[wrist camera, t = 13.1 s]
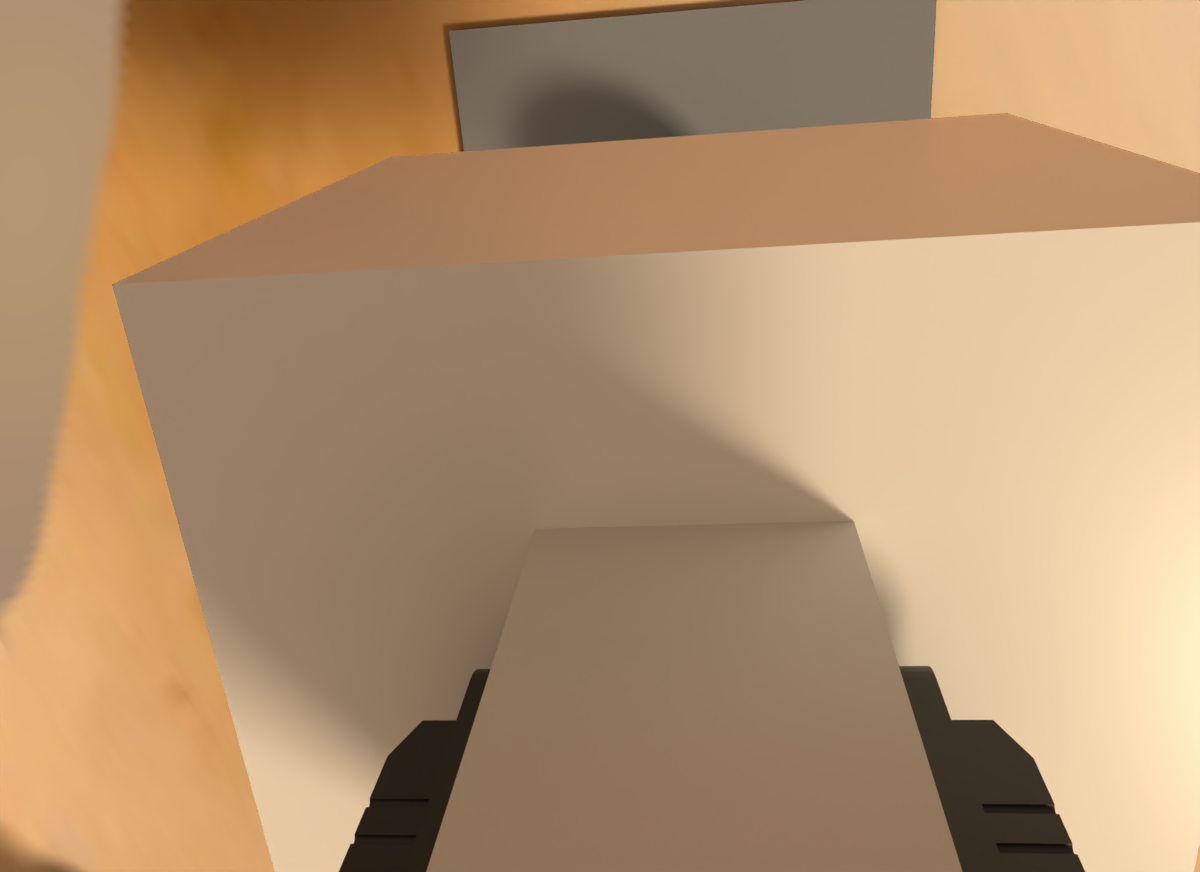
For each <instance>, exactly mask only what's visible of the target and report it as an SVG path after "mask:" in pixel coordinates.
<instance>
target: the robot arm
mask: <svg viewBox="0 0 1200 872" xmlns="http://www.w3.org/2000/svg"><path fill="white" fill-rule="evenodd" d="M899 668H900V672H901V675H902V678H903V681H904V684H905V688H906V691H907V694H908V697H909V701H910V704H911V707H912V710H913V714H914V717H915V720H916V723H917V726H918V730H919V733H920V736H921V739H922V743H923V746H924V749H925V752H926V756H927V759H928V762H929V765H930V768H931V772H932V775H933V778H934V781H935V785H936V788H937V791H938V794H939V798H940V801H941V804H942V807H943V810H944V814H945V817H946V820H947V823H948V827H949V830H950V833H951V836H952V840H953V843H954V846H955V849H956V852H957V856H958V859H959V862H960V865H961V869H962V872H1085V870H1084V868H1083V866H1082V863H1081V861H1080V859H1079V857H1078V855H1077V854H1074V852H1073V844H1072V841H1071V839H1070V837H1069V835H1068V833H1067V830H1066V828H1065V826H1064V824H1063V822H1062V819H1061V817H1060V815H1059V814H1056V812H1055V804H1054V802H1053V800H1052V797H1051V795H1050V793H1049V791H1048V789H1047V786H1046V784H1045V782H1044V780H1043V778H1042V775H1041V773H1040V771H1039V769H1038V767H1037V764H1036V762H1035V760H1034V758H1033V757H1032V756H1031V755H1030V754H1029V753H1028V752H1026V751H1025V750H1024V749H1023V748H1022V747H1021V746H1020V745H1019V744H1018V743H1017V742H1016V741H1015V740H1014V739H1013V738H1012V737H1011V736H1010V735H1009V734H1007V733H1006V732H1005V731H1004V730H1003V729H1002V728H1001V727H1000V726H999V725H998V724H997V723H996V722H995V721H994V720H951V718H950V715H949V712H948V709H947V707H946V704H945V701H944V698H943V696H942V693H941V690H940V687H939V685H938V682H937V679H936V676H935V674H934V672H933V670H932V668H931V667H930V666H899ZM489 673H490V669H476V670H475V671H474V673H473V674H472V676H471V679H470V682H469V685H468V687H467V690H466V693H465V696H464V699H463V702H462V705H461V708H460V711H459V714H458V716H457V719H456V720H423V721H422V722H421V723H420V724H419V725H418V726H417V727H416V728H415V729H414V730H413V731H412V732H411V733H410V734H409V735H408V736H407V737H406V738H405V739H404V740H403V741H402V742H401V743H400V744H399V745H398V746H397V747H396V748H395V749H394V750H393V751H392V752H391V753H390V754H389V755H388V756H387V758H386V761H385V763H384V766H383V768H382V770H381V773H380V775H379V777H378V780H377V782H376V785H375V787H374V789H373V792H372V794H371V796H370V805H369V807H366V808H365V811H364V813H363V815H362V818H361V820H360V822H359V825H358V827H357V830H356V832H355V834H354V835H355V840H354V844H350V846H349V849H348V851H347V853H346V856H345V858H344V860H343V863H342V865H341V868H340V870H339V872H426V871H427V868H428V865H429V861H430V858H431V855H432V852H433V849H434V846H435V843H436V839H437V836H438V833H439V830H440V827H441V824H442V821H443V817H444V814H445V811H446V808H447V805H448V802H449V799H450V795H451V792H452V789H453V786H454V783H455V780H456V776H457V773H458V770H459V767H460V764H461V761H462V758H463V754H464V751H465V748H466V745H467V742H468V739H469V736H470V732H471V729H472V726H473V723H474V720H475V717H476V714H477V710H478V707H479V704H480V701H481V698H482V695H483V691H484V688H485V685H486V682H487V679H488V676H489Z"/></svg>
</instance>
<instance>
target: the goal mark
mask: <svg viewBox="0 0 1200 872" xmlns="http://www.w3.org/2000/svg"><path fill="white" fill-rule="evenodd" d="M935 19H936V0H803V1H792V2H780V3H768V4H757V5H745V6H733V7H721V8H710V9H698V10H686V11H675V12H663V13H651V14H640V15H628V16H616V17H604V18H593V19H581V20H569V21H558V22H546V23H534V24H523V25H511V26H499V27H488V28H476V29H464V30H452V31H449V37H450V45H451V52H452V60H453V68H454V76H455V84H456V92H457V100H458V108H459V116H460V123H461V131H462V139H463V147H464V152H465V151H479V150H493V149H507V148H521V147H535V146H550V145H564V144H578V143H592V142H606V141H620V140H634V139H648V138H662V137H677V136H691V135H705V134H719V133H733V132H747V131H761V130H775V129H790V128H804V127H818V126H832V125H846V124H860V123H874V122H888V121H903V120H917V119H930V118H931V98H932V78H933V58H934V38H935Z"/></svg>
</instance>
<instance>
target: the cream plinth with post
mask: <svg viewBox="0 0 1200 872" xmlns="http://www.w3.org/2000/svg"><path fill="white" fill-rule="evenodd" d="M112 286H113V289H114V293H115V296H116V300H117V304H118V307H119V311H120V315H121V318H122V322H123V325H124V329H125V333H126V336H127V340H128V343H129V347H130V351H131V354H132V358H133V361H134V365H135V369H136V372H137V376H138V380H139V383H140V387H141V390H142V394H143V398H144V401H145V405H146V408H147V412H148V416H149V419H150V423H151V426H152V430H153V434H154V437H155V441H156V445H157V448H158V452H159V455H160V459H161V463H162V466H163V470H164V473H165V477H166V481H167V484H168V488H169V491H170V495H171V499H172V502H173V506H174V510H175V513H176V517H177V520H178V524H179V528H180V531H181V535H182V538H183V542H184V546H185V549H186V553H187V556H188V560H189V564H190V567H191V571H192V575H193V578H194V582H195V585H196V589H197V593H198V596H199V600H200V603H201V607H202V611H203V614H204V618H205V621H206V625H207V629H208V632H209V636H210V640H211V643H212V647H213V650H214V654H215V658H216V661H217V665H218V668H219V672H220V676H221V679H222V683H223V686H224V690H225V694H226V697H227V701H228V704H229V708H230V712H231V715H232V719H233V723H234V726H235V730H236V733H237V737H238V741H239V744H240V748H241V751H242V755H243V759H244V762H245V766H246V769H247V773H248V777H249V780H250V784H251V788H252V791H253V795H254V798H255V802H256V806H257V809H258V813H259V816H260V820H261V824H262V827H263V831H264V834H265V838H266V842H267V845H268V849H269V853H270V856H271V860H272V863H273V867H274V871H275V872H339V870H340V868H341V865H342V863H343V860H344V858H345V856H346V853H347V851H348V849H349V846H350V844H354V840H355V835H354V834H355V832H356V830H357V827H358V825H359V822H360V820H361V818H362V815H363V813H364V811H365V808H366V807H369V805H370V796H371V794H372V792H373V789H374V787H375V785H376V782H377V780H378V777H379V775H380V773H381V770H382V768H383V766H384V763H385V761H386V758H387V756H388V755H389V754H390V753H391V752H392V751H393V750H394V749H395V748H396V747H397V746H398V745H399V744H400V743H401V742H402V741H403V740H404V739H405V738H406V737H407V736H408V735H409V734H410V733H411V732H412V731H413V730H414V729H415V728H416V727H417V726H418V725H419V724H420V723H421V722H422V721H423V720H456V719H457V716H458V714H459V711H460V708H461V705H462V702H463V699H464V696H465V693H466V690H467V687H468V685H469V682H470V679H471V676H472V674H473V673H474V671H475V670H476V669H490V673H489V676H488V679H487V682H486V685H485V688H484V691H483V695H482V698H481V701H480V704H479V707H478V710H477V714H476V717H475V720H474V723H473V726H472V729H471V732H470V736H469V739H468V742H467V745H466V748H465V751H464V754H463V758H462V761H461V764H460V767H459V770H458V773H457V776H456V780H455V783H454V786H453V789H452V792H451V795H450V799H449V802H448V805H447V808H446V811H445V814H444V817H443V821H442V824H441V827H440V830H439V833H438V836H437V839H436V843H435V846H434V849H433V852H432V855H431V858H430V861H429V865H428V868H427V871H426V872H962V869H961V865H960V862H959V859H958V856H957V852H956V849H955V846H954V843H953V840H952V836H951V833H950V830H949V827H948V823H947V820H946V817H945V814H944V810H943V807H942V804H941V801H940V798H939V794H938V791H937V788H936V785H935V781H934V778H933V775H932V772H931V768H930V765H929V762H928V759H927V756H926V752H925V749H924V746H923V743H922V739H921V736H920V733H919V730H918V726H917V723H916V720H915V717H914V714H913V710H912V707H911V704H910V701H909V697H908V694H907V691H906V688H905V684H904V681H903V678H902V675H901V672H900V668H899V666H930V667H931V668H932V670H933V672H934V674H935V676H936V679H937V682H938V685H939V687H940V690H941V693H942V696H943V698H944V701H945V704H946V707H947V709H948V712H949V715H950V718H951V720H994V721H995V722H996V723H997V724H998V725H999V726H1000V727H1001V728H1002V729H1003V730H1004V731H1005V732H1006V733H1007V734H1009V735H1010V736H1011V737H1012V738H1013V739H1014V740H1015V741H1016V742H1017V743H1018V744H1019V745H1020V746H1021V747H1022V748H1023V749H1024V750H1025V751H1026V752H1028V753H1029V754H1030V755H1031V756H1032V757H1033V758H1034V760H1035V762H1036V764H1037V767H1038V769H1039V771H1040V773H1041V775H1042V778H1043V780H1044V782H1045V784H1046V786H1047V789H1048V791H1049V793H1050V795H1051V797H1052V800H1053V802H1054V804H1055V812H1056V814H1059V815H1060V817H1061V819H1062V822H1063V824H1064V826H1065V828H1066V830H1067V833H1068V835H1069V837H1070V839H1071V841H1072V844H1073V852H1074V854H1077V855H1078V857H1079V859H1080V861H1081V863H1082V866H1083V868H1084V870H1085V872H1194V867H1195V863H1196V858H1197V853H1198V848H1199V844H1200V173H1197V172H1194V171H1191V170H1187V169H1184V168H1181V167H1178V166H1174V165H1171V164H1168V163H1165V162H1162V161H1158V160H1155V159H1152V158H1149V157H1146V156H1142V155H1139V154H1136V153H1133V152H1130V151H1126V150H1123V149H1120V148H1117V147H1114V146H1110V145H1107V144H1104V143H1101V142H1098V141H1094V140H1091V139H1088V138H1085V137H1081V136H1078V135H1075V134H1072V133H1069V132H1065V131H1062V130H1059V129H1056V128H1053V127H1049V126H1046V125H1043V124H1040V123H1037V122H1033V121H1030V120H1027V119H1024V118H1021V117H1017V116H1014V115H1011V114H1008V113H1001V114H987V115H973V116H959V117H945V118H931V119H917V120H903V121H888V122H874V123H860V124H846V125H832V126H818V127H804V128H790V129H775V130H761V131H747V132H733V133H719V134H705V135H691V136H677V137H662V138H648V139H634V140H620V141H606V142H592V143H578V144H564V145H550V146H535V147H521V148H507V149H493V150H479V151H465V152H451V153H437V154H422V155H408V156H394V157H390V158H388V159H386V160H384V161H381V162H379V163H377V164H375V165H373V166H370V167H368V168H366V169H364V170H362V171H359V172H357V173H355V174H353V175H351V176H349V177H346V178H344V179H342V180H340V181H338V182H335V183H333V184H331V185H329V186H327V187H324V188H322V189H320V190H318V191H316V192H314V193H311V194H309V195H307V196H305V197H303V198H300V199H298V200H296V201H294V202H292V203H289V204H287V205H285V206H283V207H281V208H278V209H276V210H274V211H272V212H270V213H268V214H265V215H263V216H261V217H259V218H257V219H254V220H252V221H250V222H248V223H246V224H243V225H241V226H239V227H237V228H235V229H233V230H230V231H228V232H226V233H224V234H222V235H219V236H217V237H215V238H213V239H211V240H208V241H206V242H204V243H202V244H200V245H198V246H195V247H193V248H191V249H189V250H187V251H184V252H182V253H180V254H178V255H176V256H173V257H171V258H169V259H167V260H165V261H163V262H160V263H158V264H156V265H154V266H152V267H149V268H147V269H145V270H143V271H141V272H138V273H136V274H134V275H132V276H130V277H127V278H125V279H123V280H121V281H119V282H117V283H114V284H112Z"/></svg>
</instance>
